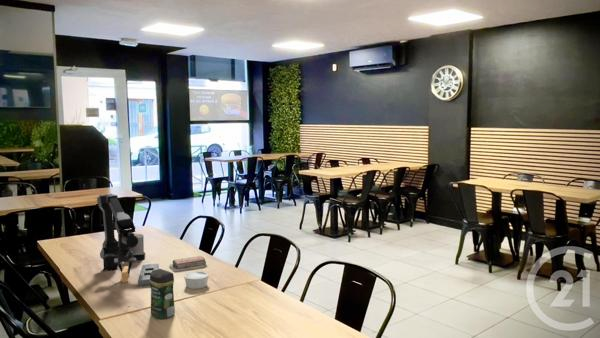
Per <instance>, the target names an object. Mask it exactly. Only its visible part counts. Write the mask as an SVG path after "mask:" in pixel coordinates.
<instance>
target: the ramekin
mask: <svg viewBox="0 0 600 338" xmlns="http://www.w3.org/2000/svg"><path fill="white" fill-rule="evenodd" d="M183 278H184V282H185V286H186V287H187V288H188V289H191V290H199V289H203V288H205V287H206V286H207V285H208V279H209V273H208V272H205V271H191V272H188V273H186V274H185V275H184V277H183Z"/></svg>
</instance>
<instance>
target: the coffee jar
mask: <svg viewBox="0 0 600 338" xmlns="http://www.w3.org/2000/svg"><path fill="white" fill-rule="evenodd" d="M174 283H175V277H174V273H173V272H171V271H169V270H165V269H161V268H159V269H157V270H153V271H152V272H151V273H150V315H151V316H153V317H155V318H156V319H159V320H163V319H169V318H171V317H173V316H174V315H175V313H176V309H175V297H174Z"/></svg>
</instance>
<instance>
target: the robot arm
mask: <svg viewBox="0 0 600 338" xmlns="http://www.w3.org/2000/svg"><path fill="white" fill-rule="evenodd" d="M96 202H97V204H98V209H100V210H101V211H102V220H103V227H104V229H103V230H104V241H103V242H102V245H101V250H100V251H99V257H100V258H101V259H102V260H103V263H102V264H103V268H102V271H113V270H117V269H118V268H119V270H120V272H122V270H123V268H124V266H123V265H124V264H123V263H128V265H127V266H128V274H129V273H130V271H131V268H132V265H133V263H136V262H135V261H136V260H138V261H137V262H141V261H145V260H146V252H145V251H144V252H137V254H135V255H133V251H131V248H133V247H135V246H136V245H137V244H138V238H137V237H136V236H134V234H135V233H136V226H135V224H134V222H133V219H132V218H131V217H130V215H129V214H128V213H125V211H124V209H123V208H122V206H121V203H120V200H119V196H118V195H117V194H113V193H106V194H105V193H103V194H100V195H98V197H96ZM114 219H115V220H114ZM115 229H116V232H117V239H116V237H115ZM140 260H141V261H140Z"/></svg>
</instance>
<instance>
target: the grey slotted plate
mask: <svg viewBox="0 0 600 338" xmlns="http://www.w3.org/2000/svg"><path fill="white" fill-rule="evenodd" d="M159 267H160V264H159V263H150V264H142V266H141V269H140V273H139V276H138V279H137V287H147V286H149V287H151V285H150V273H151V272H152V271H153V270H157V269H160V268H159Z"/></svg>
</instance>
